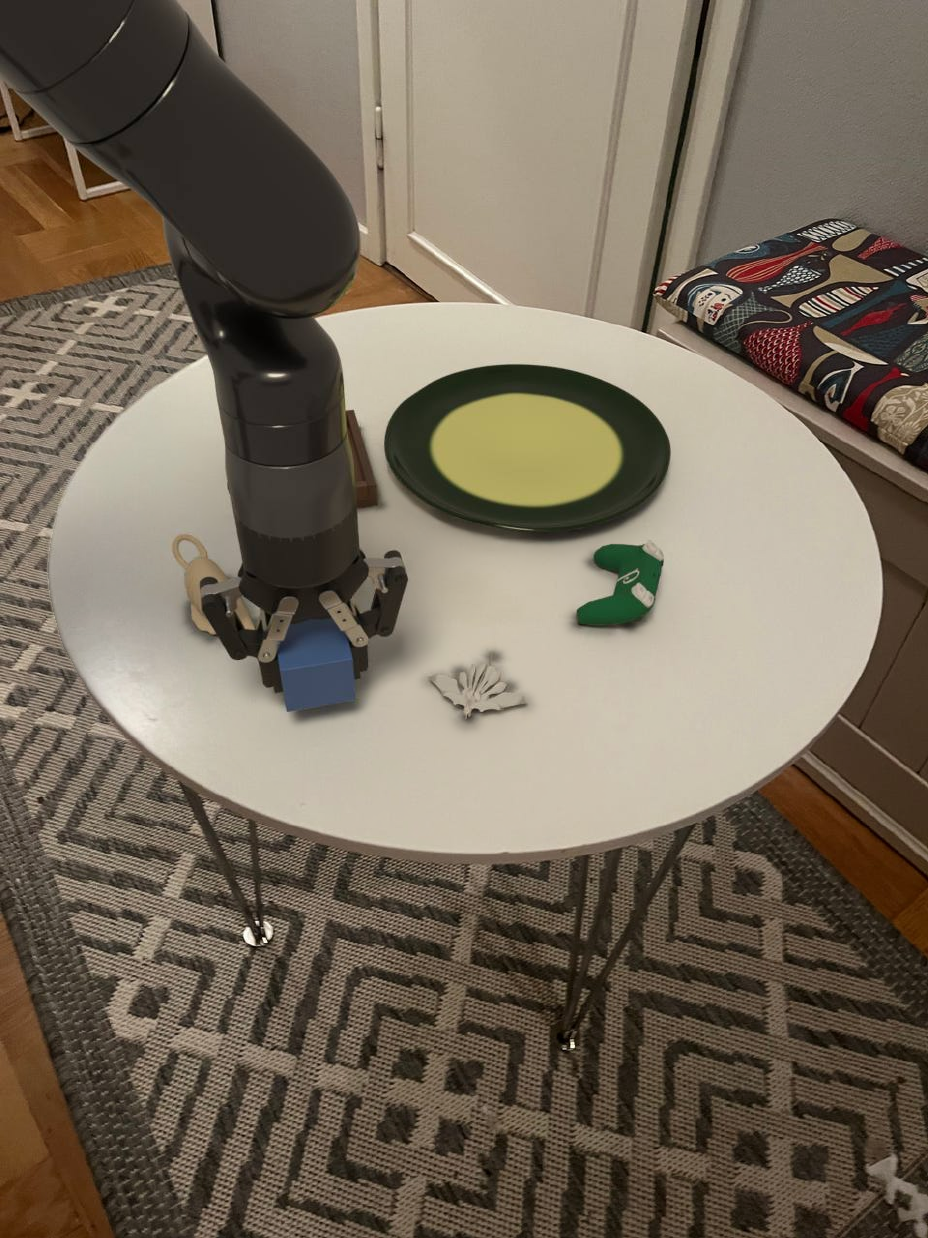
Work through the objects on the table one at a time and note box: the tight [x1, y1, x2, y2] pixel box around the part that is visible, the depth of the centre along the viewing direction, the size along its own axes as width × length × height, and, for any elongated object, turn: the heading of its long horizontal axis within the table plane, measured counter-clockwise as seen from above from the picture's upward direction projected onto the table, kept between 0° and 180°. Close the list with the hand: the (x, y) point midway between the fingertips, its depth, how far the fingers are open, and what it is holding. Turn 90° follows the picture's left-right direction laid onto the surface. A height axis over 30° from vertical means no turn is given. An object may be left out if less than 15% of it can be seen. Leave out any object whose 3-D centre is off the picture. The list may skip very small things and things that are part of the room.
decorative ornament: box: [171, 533, 256, 636], centre depth 77 cm, size 4×8×5 cm, turn 29°
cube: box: [277, 618, 357, 713], centre depth 69 cm, size 5×5×4 cm
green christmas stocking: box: [576, 539, 665, 626], centre depth 80 cm, size 9×4×6 cm
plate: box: [383, 363, 672, 533], centre depth 94 cm, size 28×28×2 cm
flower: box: [427, 651, 528, 720], centre depth 73 cm, size 8×8×3 cm
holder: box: [346, 409, 378, 509], centre depth 91 cm, size 11×13×2 cm
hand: (316, 677), depth 70 cm, fingers closed on cube, 5 cm apart
